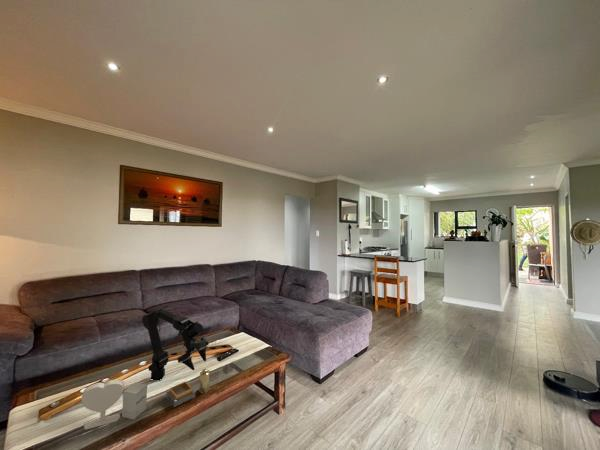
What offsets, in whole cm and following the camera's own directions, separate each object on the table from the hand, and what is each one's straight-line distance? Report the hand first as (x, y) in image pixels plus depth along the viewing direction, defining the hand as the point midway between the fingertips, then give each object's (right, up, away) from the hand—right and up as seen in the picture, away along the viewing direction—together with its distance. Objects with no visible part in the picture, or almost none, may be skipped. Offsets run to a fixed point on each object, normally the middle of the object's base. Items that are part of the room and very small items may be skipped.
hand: (199, 365), depth 141 cm
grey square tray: (-8, -15, -5) cm, 18 cm away
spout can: (+2, -15, +2) cm, 15 cm away
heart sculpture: (-37, -14, -23) cm, 45 cm away
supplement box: (-26, -14, -17) cm, 34 cm away
